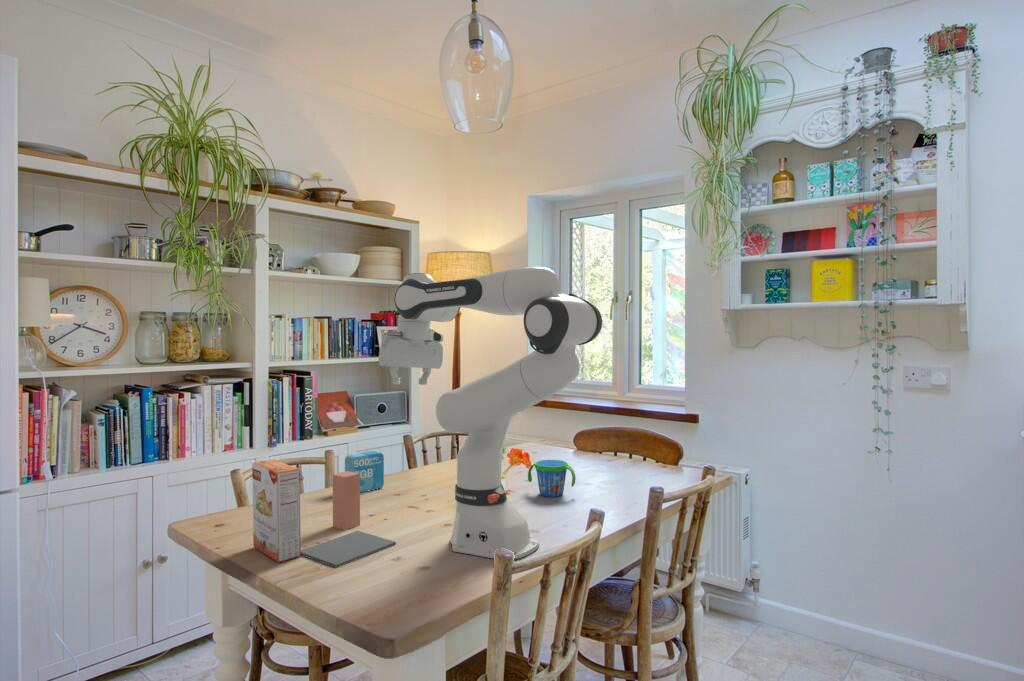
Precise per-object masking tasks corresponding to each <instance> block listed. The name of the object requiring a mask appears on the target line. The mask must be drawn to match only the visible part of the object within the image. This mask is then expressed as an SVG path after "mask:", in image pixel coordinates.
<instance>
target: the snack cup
mask: <svg viewBox="0 0 1024 681" xmlns="http://www.w3.org/2000/svg"><path fill="white" fill-rule="evenodd" d="M533 468H535V471H536V477H537V482H538V483H537V484H538V485H537V486H538V490H539V493H540V495H542V496H543V497H549V498H550V497H551V498H552V497H553V498H555V497H560V496H563V494H564V490H565V484H566V476H567V470H568V471H569V472H570V473H571V477H572V478H571V487H575V484H576V480H577V478H576V474H575V471H574V469H573V468H572V467H571V466H570V465H569V463H568V462H567V461H565V460H560V459H559V460H558V459H542V460H538V461H536V462H535V463H533V464H531V465H530V467H529V469H528V472H527V480H528V482H529V483H531V482H532V481H533V479H532V470H533Z"/></svg>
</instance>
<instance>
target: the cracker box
mask: <svg viewBox="0 0 1024 681" xmlns="http://www.w3.org/2000/svg"><path fill="white" fill-rule="evenodd" d="M251 464H252V466H251V469H252V474H251V475H252V520H253V521H252V522H253V523H252V527H253V530H252V531H253V537H252V538H253V547H254V548H255V549H257V550H259V551H260V553H261V552H262V553H263V554H265V555H266V556H267V557H269V558H270V559H272V561H273V560H274V561H275V562H276V561H277V562H276V563H278V562H279V563H283V562H286V561H288V560H293V559H296V557H297V558H300V557H301V556H302V555H301V550H302V547H301V544H302V543H301V542H302V541H301V538H302V537H301V536H302V534H301V470H300V468H298V467H295V466H293V465H289V464H287V463H284V462H281V461H279V460H276V459H269V460H261V461H256V462H253V463H251ZM282 561H283V562H282Z"/></svg>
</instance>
